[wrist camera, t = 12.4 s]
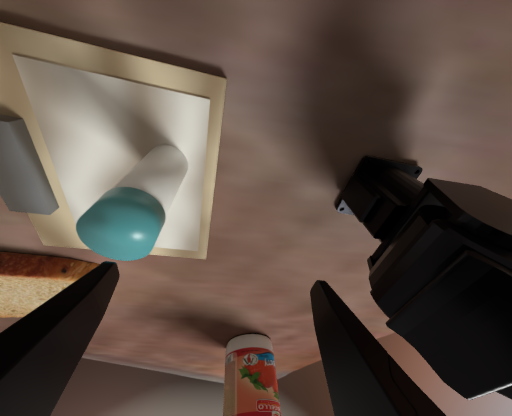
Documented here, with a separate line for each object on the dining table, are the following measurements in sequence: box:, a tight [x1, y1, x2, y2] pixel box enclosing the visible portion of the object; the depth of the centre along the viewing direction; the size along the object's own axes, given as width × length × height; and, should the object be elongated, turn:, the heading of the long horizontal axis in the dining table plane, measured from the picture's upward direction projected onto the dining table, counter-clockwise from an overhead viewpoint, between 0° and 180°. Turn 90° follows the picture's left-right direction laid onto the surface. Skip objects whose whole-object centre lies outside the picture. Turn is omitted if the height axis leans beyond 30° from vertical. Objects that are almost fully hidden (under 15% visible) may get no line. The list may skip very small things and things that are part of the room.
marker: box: [76, 145, 188, 261], centre depth 13 cm, size 3×3×9 cm
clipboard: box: [0, 22, 227, 259], centre depth 18 cm, size 17×19×2 cm
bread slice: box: [0, 252, 100, 318], centre depth 24 cm, size 18×18×4 cm
